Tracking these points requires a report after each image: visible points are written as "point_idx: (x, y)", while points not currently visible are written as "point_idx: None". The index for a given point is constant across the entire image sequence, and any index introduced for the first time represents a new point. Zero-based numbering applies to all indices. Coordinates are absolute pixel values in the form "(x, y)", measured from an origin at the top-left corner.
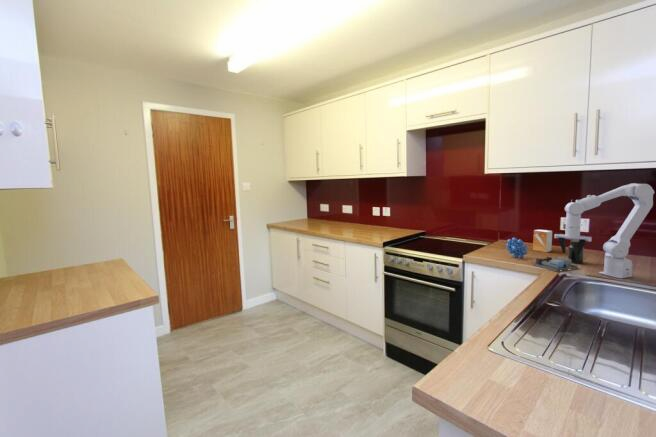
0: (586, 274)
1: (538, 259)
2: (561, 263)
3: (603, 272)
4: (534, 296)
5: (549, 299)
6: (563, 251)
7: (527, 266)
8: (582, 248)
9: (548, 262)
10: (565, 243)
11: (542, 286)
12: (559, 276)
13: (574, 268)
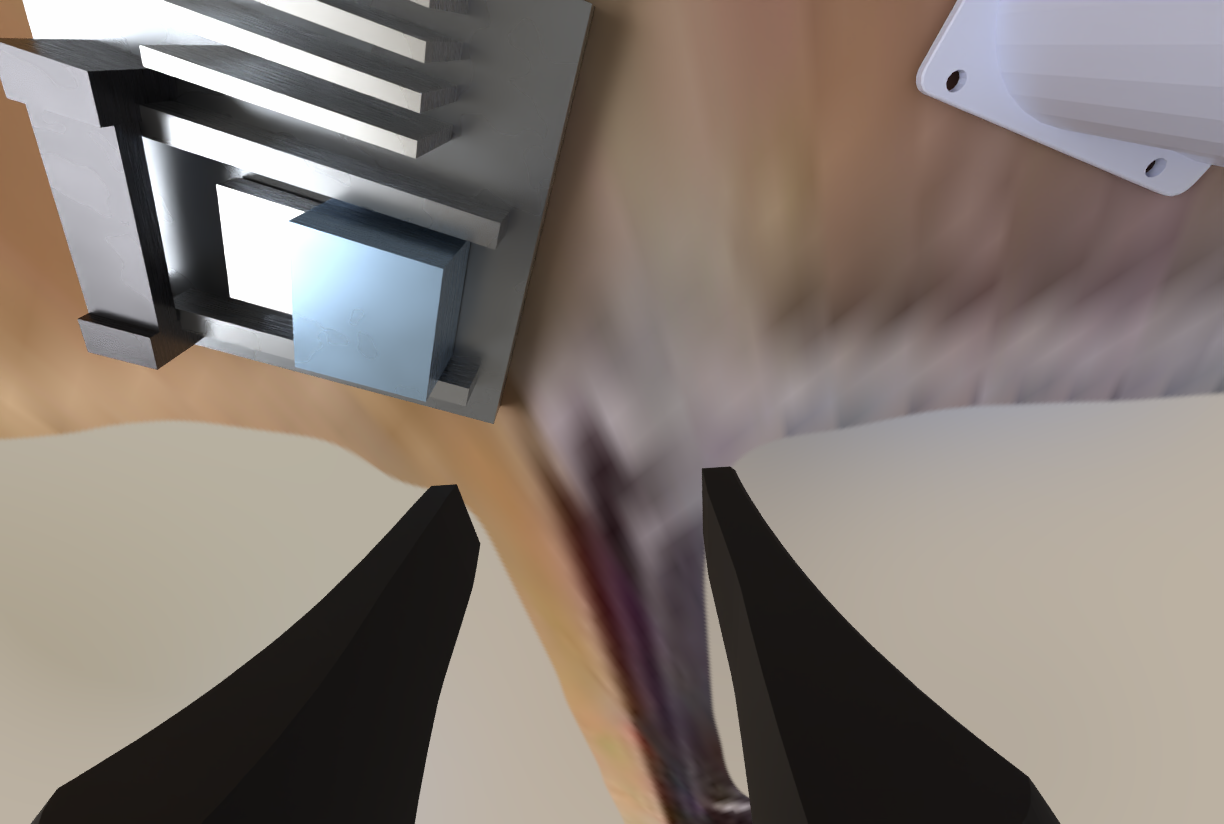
0: (769, 283)
1: (142, 360)
2: (445, 314)
3: (990, 45)
4: (651, 789)
5: (708, 787)
6: (463, 588)
7: (192, 410)
8: (803, 572)
9: (252, 273)
10: (350, 697)
11: (615, 711)
12: (592, 519)
13: (570, 104)
